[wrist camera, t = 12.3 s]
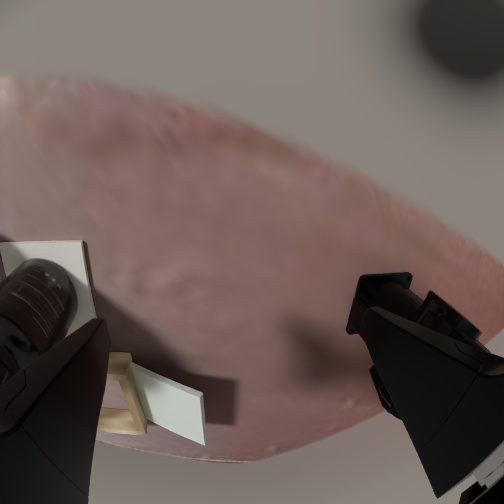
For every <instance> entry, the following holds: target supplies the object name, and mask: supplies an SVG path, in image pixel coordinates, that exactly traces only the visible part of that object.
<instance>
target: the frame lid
mask: <svg viewBox="0 0 504 504" xmlns="http://www.w3.org/2000/svg"><path fill="white" fill-rule="evenodd" d="M130 367H131V371H132V375H133V378H134V382H135V385H136V389H137V392H138V395H139V399H140V402H141V405H142V408H143V411H144V414H145V417H146V419H148V420H150V421H152V422H154V423H156V424H158V425H160V426H162V427H164V428H166V429H168V430H170V431H172V432H175V433H177V434H179V435H181V436H183V437H186V438H188V439H190V440H193V441H195V442H198V443H200V444H202V445H205V444H206V443H207V433H206V423H205V411H204V399H203V393H202V392H200V391H197V390H194V389H192V388H189V387H187V386H184V385H182V384H179V383H177V382H175V381H172V380H170V379H168V378H165V377H163V376H161V375H158V374H156V373H154V372H152V371H150V370H147V369H145V368H143V367H141V366H139V365H137V364H135V363H133V362H131V366H130Z"/></svg>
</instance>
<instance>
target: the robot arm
mask: <svg viewBox="0 0 504 504" xmlns="http://www.w3.org/2000/svg"><path fill="white" fill-rule="evenodd" d="M412 277H413V276H412V274H411V273H409V272H402V273H385V274H366V275H362V276H361V277H360V278H359V281H358V285H357V289H356V293H355V297H354V299H353V303H352V307H351V311H350V315H349V318H348V324H347V327H346V332H347V333H348V334H349V335H352V334H359V335H360V336H361V337H362V339H363V340H364V341H365V343H366V345H367V348H368V350H369V353H370V355H371V358H372V360H373V363H374V365H373V366H372V367H371V368H370V369H369V371H370V374H371V377H372V380H373V382H374V385H375V388H376V390H377V393H378V396H379V399H380V401H381V404H382V406H383V407H384V408H385V409H386V411H387V412H388V413H390V414H392V415H393V416H395V417H396V418H398V419H400V420H402V421H403V423H404V425H405V427H406V430H407V432H408V434H409V436H410V438H411V440H412V442H413V445H414V447H415V449H416V451H417V453H418V456H419V458H420V461H421V463H422V465H423V467H424V470H425V472H426V474H427V476H428V479H429V481H430V484H431V486H432V489H433V491H434V494H435V496H436V497H437V498H440V497H441V496H443V495H444V494H446V493H447V492H449V491H450V490H451V489H453V488H455V487H456V486H457V485H459V484H460V483H462V482H463V481H464V480H466V479H467V478H468V477H470V476H471V475H472V474H473V475H474V476H475V478H476V479H477V482H475V483H474V484H473V485H472V486H470V487H469V488H468V489H467V490H465V491H464V492H463V493H462V494H461V497H460V502H459V504H504V358H503V357H500V356H497V355H494V354H491V352H490V351H489V350H488V349H487V348H486V347H485V346H484V345H482V344H481V343H480V342H479V341H478V338H479V337H480V335H481V334H482V332H481V331H480V330H479V329H478V328H477V327H476V326H475V325H473V324H472V323H471V322H470V321H469V320H468V319H467V318H466V317H464V316H463V315H462V314H461V313H460V312H458V311H457V310H456V309H455V308H453V307H452V306H451V305H450V304H448V303H447V302H446V301H444V300H443V299H442V298H440V297H439V296H438V295H436V294H435V293H434V292H432V291H431V290H430V291H429V292H428V294H427V297H426V299H425V300H424V301H423V300H421V299H420V298H419V297H418V296H417V295H416V294H414V293H413V292H412V291H411V290H410V289H409V288H410V284H411V281H412ZM364 280H365V281H364ZM363 281H364V282H363ZM351 329H352V330H351ZM110 347H111V340H110V336H109V332H108V328H107V323H106V321H105V319H103V318H92V319H91V320H89V321H88V322H87V323H85V324H84V325H82V326H81V327H80V328H78V329H77V330H75V331H74V332H73V333H71V334H70V335H69V336H67V337H66V338H64V339H63V340H62V341H60V342H59V343H58V344H56V345H55V346H53V347H52V348H51V349H49V350H48V351H47V352H45V353H44V354H43V355H41V356H40V357H39V358H37V359H36V360H34V361H33V362H32V363H30V364H29V365H28V366H27V367H25V369H22V370H21V371H20V372H19V373H17V374H16V375H15V376H13V377H12V378H10V379H9V380H8V381H6V382H5V383H4V384H2V385H1V386H0V504H88V496H89V485H90V475H91V467H92V459H93V452H94V444H95V439H96V433H97V427H98V421H99V416H100V411H101V406H102V401H103V396H104V391H105V386H106V380H107V371H108V362H109V354H110Z"/></svg>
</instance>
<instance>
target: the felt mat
mask: <svg viewBox="0 0 504 504" xmlns="http://www.w3.org/2000/svg"><path fill="white" fill-rule="evenodd" d="M0 252H1V257H2V261H3V266H4V270H5V274H6V277H7V276H8V275H9V274H10V273H12V272H13V271H14V270H15V269H16V268H17V267H18V266H19V265H20V264H22V263H23V262H24V261H26V260H29V259H32V258H41V259H46V260H48V261H51V262H53V263H54V264H56V265H57V266H59V267H60V268H61V269H62V270H63V271H64V272H65V273H66V274H67V276H68V277H69V278H70V280H71V282H72V283H73V285H74V288H75V290H76V294H77V298H78V309H77V314H76V316H75V319H74V321H73V323H72V325H71V327H70V329H69V331H68V333H67V335H70V334H71V333H73V332H74V331H75V330H77V329H78V328H80V327H81V326H82V325H84V324H85V323H87V322H88V321H89V320H91V319H92V318H97V316H96V311H95V307H94V303H93V298H92V293H91V288H90V283H89V278H88V272H87V266H86V260H85V253H84V246H83V240H70V241H28V242H1V243H0Z"/></svg>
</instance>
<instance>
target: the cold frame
mask: <svg viewBox="0 0 504 504" xmlns="http://www.w3.org/2000/svg"><path fill="white" fill-rule="evenodd" d="M131 362H133V361H132V357H131V353H126V352H110V354H109V362H108V371H107V380H116V381H119V382H120V385H121V388H122V391H123V394H124V397H125V400H126V402H127V405H128V408H129V410H122V409H111V408H101V411H100V416H99V421H98V427H97V431H103V432H112V433H121V434H133V435H147V420H148V419H146V417H145V414H144V411H143V408H142V405H141V402H140V399H139V395H138V392H137V389H136V385H135V382H134V378H133V375H132V371H131V367H130V366H131Z"/></svg>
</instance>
